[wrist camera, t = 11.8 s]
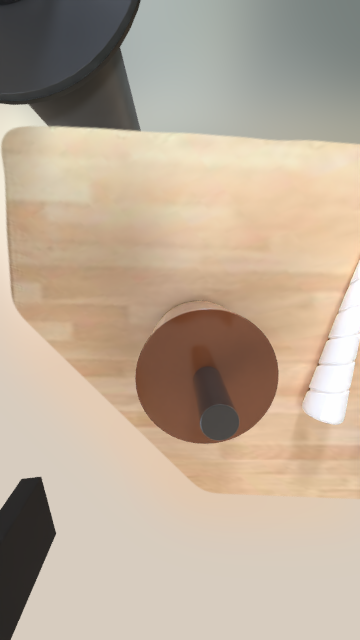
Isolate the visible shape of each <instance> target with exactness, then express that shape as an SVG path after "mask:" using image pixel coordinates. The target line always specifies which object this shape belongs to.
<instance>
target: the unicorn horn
mask: <svg viewBox="0 0 360 640" xmlns="http://www.w3.org/2000/svg"><path fill="white" fill-rule="evenodd" d="M359 331H360V260H359V263H358V265H357V267H356V270H355V272H354V274H353V277H352V279H351V282H350V286H349V287H348V289H347V292H346V294H345V296H344V299H343V301H342V304H341V306H340V309H339V314H338V315H337V316H336V319H335V321H334V324H333V326H332V329H331V331H330V334H329V336H328V338H329V339H330V340H328V341H326V344H325V347H324V349H323V352H322V354H321V357H320V360H319V364H320V365H319V366H317V367H316V370H315V372H314V375H313V378H312V380H311V383H310V385H309V388H310V391H307V393H306V396H305V398H304V401H303V404H302V408H303V410H304V412H305V413H306V414H308V415H309V416H311V417H313V418H315V419H317V420H319V421H322V422H325V423H329V424H334V425H335V424H340V423H342V422H343V421H344V418H345V412H346V407H347V402H348V396H349V388H350V386H351V381H352V376H353V371H354V366H355V361H354V360H355V359H356V356H357V351H358V346H359V340H360V332H359Z"/></svg>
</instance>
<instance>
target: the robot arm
mask: <svg viewBox="0 0 360 640" xmlns="http://www.w3.org/2000/svg"><path fill="white" fill-rule="evenodd" d="M18 1H20V0H0V5H7V4H12V3H15V2H18ZM55 535H56V532H55V528H54V524H53V520H52V516H51V513H50V509H49V505H48V502H47V497H46V494H45V490H44V486H43V482H42V479H41V477H35V478H27V479H21V481H20V482H19V484H18V485H17V487H16V488H15V490H14V491H13V493H12V494H11V495H10V497H9V498H8V500H7V501H6V503H5V504H4V506H3V507H2V508H1V510H0V640H11V637H12V635H13V633H14V630H15V628H16V626H17V623H18V621H19V619H20V616H21V614H22V612H23V609H24V607H25V605H26V602H27V600H28V597H29V595H30V593H31V591H32V588H33V586H34V584H35V582H36V579H37V577H38V575H39V572H40V570H41V568H42V565H43V563H44V561H45V558H46V556H47V553H48V551H49V549H50V546H51V544H52V542H53V539H54V537H55Z"/></svg>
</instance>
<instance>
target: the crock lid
mask: <svg viewBox="0 0 360 640" xmlns="http://www.w3.org/2000/svg"><path fill="white" fill-rule="evenodd" d="M135 379H136V389H137V393H138V397H139V400H140V402H141V405H142V407H143V409H144V410H145V412H146V414H147V415H148V416H149V418H150V419H151V420H152V421H153V422H154V423H155V424H156V425H157V426H158V427H159V428H161V429H162V430H163V431H165V432H166V433H168V434H170V435H171V436H173V437H176V438H178V439H181V440H184V441H187V442H193V443H203V444H207V443H217V442H223V441H226V440H230V439H232V438H235V437H237V436H239V435H241V434H243V433H244V432H246V431H248V430H249V429H250V428H252V427H253V426H254V425H255V424H256V423H257V422H258V421H259V420H260V419H261V418H262V417H263V416H264V415H265V413H266V412H267V410H268V409H269V407H270V405H271V403H272V401H273V399H274V396H275V393H276V390H277V384H278V364H277V360H276V356H275V353H274V350H273V348H272V346H271V344H270V342H269V341H268V339H267V338H266V336H265V335H264V334H263V333H262V331H261V330H260V329H259V328H257V327H256V326H255V325H254V324H253V323H251V322H250V321H249V320H247V319H246V318H244V317H242V316H240V315H238V314H236V313H233V312H230V311H227V310H222V309H215V308H200V309H194V310H189V311H186V312H183V313H180V314H178V315H176V316H174V317H172V318H170V319H169V320H167V321H166V322H164V323H163V324H162V325H161V326H159V327H158V328H157V329H156V330H155V331H154V332H153V333H152V334H151V336H150V337H149V339H148V340H147V341H146V343H145V345H144V347H143V349H142V351H141V353H140V356H139V359H138V362H137V367H136V378H135Z"/></svg>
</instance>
